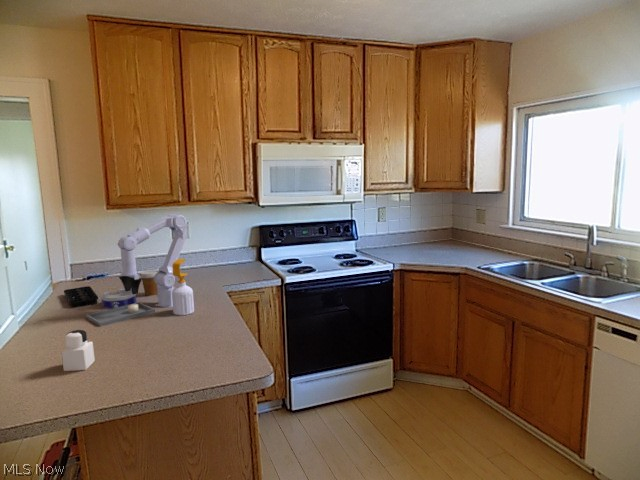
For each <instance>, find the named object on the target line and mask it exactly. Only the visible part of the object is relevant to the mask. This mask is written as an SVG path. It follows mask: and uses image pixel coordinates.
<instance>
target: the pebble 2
mask: <svg viewBox="0 0 640 480" xmlns="http://www.w3.org/2000/svg"><path fill="white" fill-rule="evenodd" d="M137 312H139V308H138V304H130V305H128V313H130V314H133V313H137Z"/></svg>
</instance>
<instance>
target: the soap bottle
mask: <svg viewBox="0 0 640 480" xmlns="http://www.w3.org/2000/svg"><path fill="white" fill-rule="evenodd" d="M185 262H186V259H184V258H178V260H177V261H175V262H174V263H173V265H172V268H173V275H174V276H175V277H177V278H178V281H177V286H176V287H174V288H175V289H174V290H173V291H172V301H173V306H172V312H173V314H174V315H177V316H188V315H190V314H193V313H194V312H195V302H194V290H193V288H192V287H190V286H189V285H187V283H186V280H185V279H184V278H185V277H186V276H188V273H183V272H181V265H182V264H183V263H185Z"/></svg>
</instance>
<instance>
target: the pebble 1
mask: <svg viewBox="0 0 640 480" xmlns="http://www.w3.org/2000/svg"><path fill="white" fill-rule="evenodd" d="M119 289H120V288H119V286H117V285H115V286H110V287H108V292H109V295H117V294H119Z"/></svg>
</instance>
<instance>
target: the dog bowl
mask: <svg viewBox="0 0 640 480" xmlns="http://www.w3.org/2000/svg"><path fill="white" fill-rule="evenodd" d="M100 298H101V305H102V308H104V309H113V308H117V307H121V306H126V305H130V304H134V303H137V294H134V295H133V294H132V290H131V291H125V288H119V294H117V295H109V291H106V292H104V293H102V294H101V295H100Z"/></svg>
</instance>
